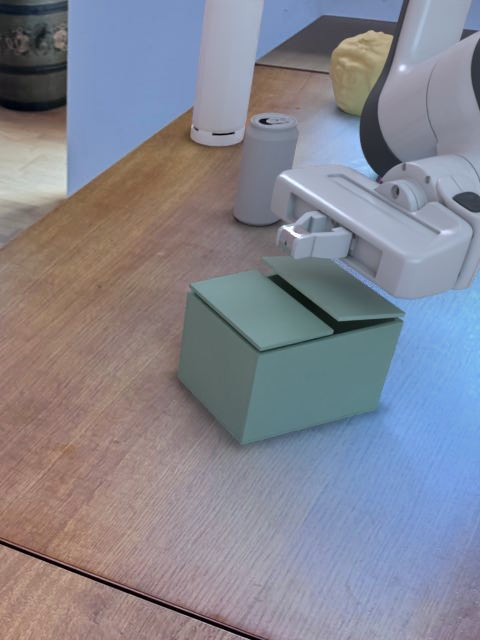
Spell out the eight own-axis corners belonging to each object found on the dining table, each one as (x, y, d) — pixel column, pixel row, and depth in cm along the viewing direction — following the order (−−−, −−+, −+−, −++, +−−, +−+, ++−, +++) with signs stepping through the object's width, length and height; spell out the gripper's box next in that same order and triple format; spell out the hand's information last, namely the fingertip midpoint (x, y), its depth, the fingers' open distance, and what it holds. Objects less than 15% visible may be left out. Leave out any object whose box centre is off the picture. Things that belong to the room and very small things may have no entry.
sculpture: (310, 107, 147) (325, 29, 140) (367, 93, 151) (385, 17, 143) (359, 128, 140) (378, 47, 133) (418, 113, 144) (439, 34, 136)
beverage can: (228, 209, 122) (243, 111, 113) (277, 208, 122) (295, 109, 113) (235, 230, 118) (251, 129, 109) (285, 229, 117) (305, 128, 108)
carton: (301, 348, 97) (323, 254, 90) (375, 411, 89) (406, 313, 81) (176, 378, 94) (188, 283, 87) (241, 447, 86) (260, 347, 78)
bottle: (208, 125, 144) (236, -101, 123) (253, 135, 140) (290, -96, 119) (179, 140, 140) (203, -91, 119) (225, 151, 136) (258, -85, 115)
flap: (322, 258, 90) (323, 254, 90) (404, 317, 82) (406, 312, 81) (260, 260, 88) (261, 256, 87) (338, 321, 79) (339, 317, 79)
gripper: (356, 137, 86) (228, 162, 83) (511, 222, 73) (367, 255, 70) (339, 206, 90) (218, 232, 87) (483, 297, 77) (346, 331, 74)
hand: (285, 243), depth 78 cm, fingers closed
